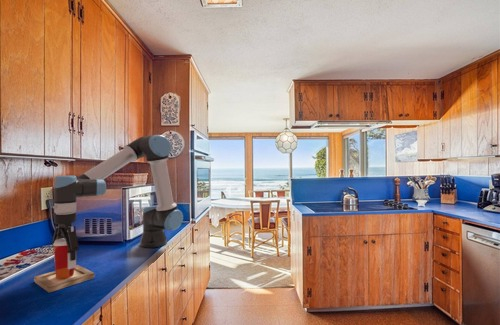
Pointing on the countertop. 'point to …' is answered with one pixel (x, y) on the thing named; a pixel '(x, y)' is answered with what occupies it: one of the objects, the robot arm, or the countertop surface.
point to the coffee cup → (62, 259)
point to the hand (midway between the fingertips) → (64, 264)
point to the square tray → (52, 283)
